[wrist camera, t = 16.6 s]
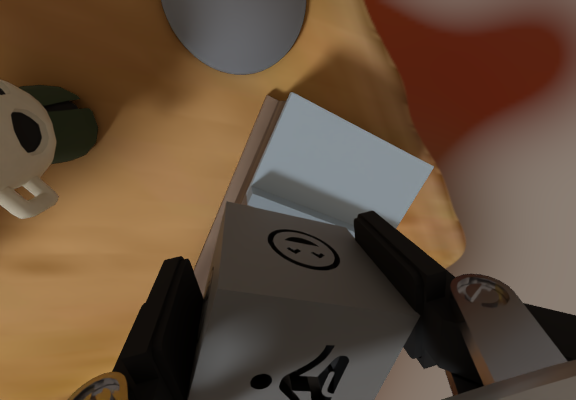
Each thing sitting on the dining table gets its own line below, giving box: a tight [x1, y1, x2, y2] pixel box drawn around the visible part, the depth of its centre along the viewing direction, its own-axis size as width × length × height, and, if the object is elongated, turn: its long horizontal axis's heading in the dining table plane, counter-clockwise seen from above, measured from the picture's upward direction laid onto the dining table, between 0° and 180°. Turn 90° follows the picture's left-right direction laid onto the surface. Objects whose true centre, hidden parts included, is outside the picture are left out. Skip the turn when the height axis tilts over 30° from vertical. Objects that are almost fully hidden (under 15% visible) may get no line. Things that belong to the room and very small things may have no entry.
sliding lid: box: [246, 92, 434, 238], centre depth 23 cm, size 15×9×3 cm, turn 64°
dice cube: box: [187, 201, 420, 400], centre depth 9 cm, size 5×5×5 cm
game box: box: [194, 95, 286, 296], centre depth 30 cm, size 17×27×5 cm, turn 154°
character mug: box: [0, 79, 98, 219], centre depth 18 cm, size 11×7×13 cm, turn 33°
